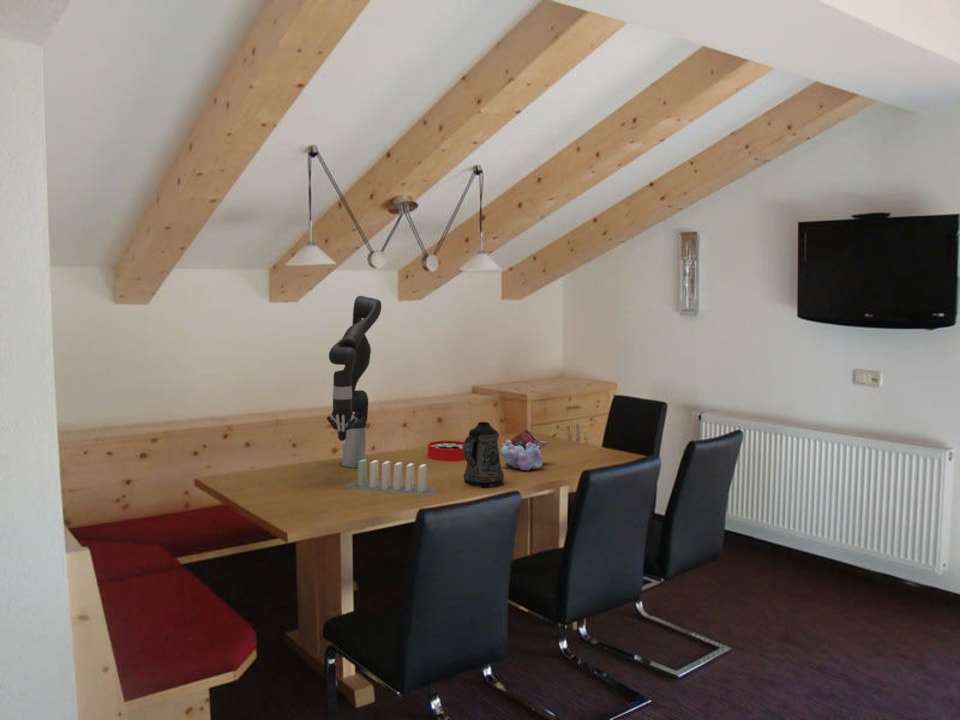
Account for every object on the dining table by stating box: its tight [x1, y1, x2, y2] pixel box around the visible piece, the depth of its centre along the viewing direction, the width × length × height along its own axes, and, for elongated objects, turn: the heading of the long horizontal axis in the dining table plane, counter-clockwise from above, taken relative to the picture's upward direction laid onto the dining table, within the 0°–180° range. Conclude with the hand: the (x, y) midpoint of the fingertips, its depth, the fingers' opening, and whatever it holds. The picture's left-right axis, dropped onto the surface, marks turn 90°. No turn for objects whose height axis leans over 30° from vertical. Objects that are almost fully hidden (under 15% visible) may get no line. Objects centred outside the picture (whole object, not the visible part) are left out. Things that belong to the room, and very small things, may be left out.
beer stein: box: [463, 421, 505, 489], centre depth 332 cm, size 16×19×25 cm
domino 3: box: [381, 460, 391, 489], centre depth 321 cm, size 2×5×10 cm, turn 165°
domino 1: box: [357, 458, 368, 487], centre depth 323 cm, size 2×5×10 cm, turn 165°
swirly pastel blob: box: [499, 429, 550, 471], centre depth 365 cm, size 20×22×18 cm
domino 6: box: [417, 463, 427, 493], centre depth 317 cm, size 2×5×10 cm, turn 165°
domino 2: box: [369, 459, 380, 488], centre depth 322 cm, size 2×5×10 cm, turn 165°
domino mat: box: [344, 480, 439, 497], centre depth 321 cm, size 35×12×1 cm, turn 75°
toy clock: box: [427, 440, 466, 462], centre depth 382 cm, size 20×6×20 cm
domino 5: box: [405, 462, 415, 491], centre depth 318 cm, size 2×5×10 cm, turn 165°
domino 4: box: [393, 461, 403, 490], centre depth 319 cm, size 2×5×10 cm, turn 165°
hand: (342, 440), depth 324 cm, fingers closed
